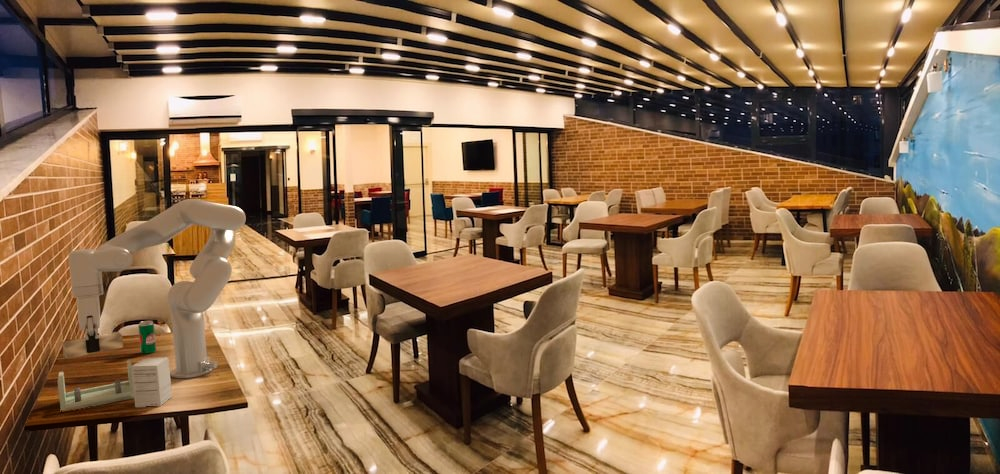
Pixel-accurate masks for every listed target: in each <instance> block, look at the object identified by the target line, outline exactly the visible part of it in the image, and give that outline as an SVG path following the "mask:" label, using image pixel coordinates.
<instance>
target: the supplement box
mask: <svg viewBox="0 0 1000 474" xmlns="http://www.w3.org/2000/svg"><path fill="white" fill-rule="evenodd" d="M131 371H132V381H133V391H134V398H133V399H134V408H147V407H146V406H157V407H162V406H163V405H162V404H166V402H167V401H169V400H170V399H171V398H172V397H173V391H172V382H171V381H172V380H171V368H170V360H169V357H165V356H163V357H147V358H143V359H141V360H140V361H137V362H136V363H134V364H133V365H132V366H131ZM168 399H169V400H168Z"/></svg>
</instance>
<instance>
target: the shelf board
mask: <svg viewBox="0 0 1000 474" xmlns="http://www.w3.org/2000/svg"><path fill="white" fill-rule="evenodd" d="M98 338H99V344H100V351H99V352H93V353H87V350H86V337H82V338H77V339H71V340H65V341H62V342H61V344H62V345H61V346H62V354H63V355H62V356H63V357H65V359H73V358H78V357H83V356H87V355H93V354H96V353H102V352H106V351H112V350H117V349H122V348H124V342H123V335H122V333H120V332H119V331H116V332H115V331H114V332H108V333H104V334H99V335H98Z"/></svg>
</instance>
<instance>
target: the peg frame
mask: <svg viewBox="0 0 1000 474" xmlns="http://www.w3.org/2000/svg"><path fill="white" fill-rule="evenodd" d="M131 366H133V365H132V361H131V359H128V360H126V367H127V376H128V380H125V381H121V380H120V379H117V380H114V383H110V384H109V383H108V384H104V385H99V386H94V387H88V388H85V389H81V387H76V388H74V389H73V391H69V392H66V384H65V374H64V371H59V372H58V378H57V389H58V397H59V405H60V406H59V407H60V410H59V411H61V410H67V409H73V408H80V407H88V406H93V407H96V406H97V405H98V406H102V405H107V404H111V403H116V402H120V401H127V400H130V399H134V391H133V381H132V371H131ZM88 408H89V407H88Z"/></svg>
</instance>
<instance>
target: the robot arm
mask: <svg viewBox="0 0 1000 474" xmlns="http://www.w3.org/2000/svg"><path fill="white" fill-rule="evenodd" d="M246 218H247V217H246V213H245V211H244V210H243V209H241V208H240V207H238V206H235V205H230V204H225V203H217V202H213V201H208V200H202V199H194V198H193V199H183V200H181V201H178V202H177V203H175V204H172V206H170V207H169V208H167V209H165V210H164V211H162V212H161V213H158V214H157V215H155V216H154V217H152V218H151V219H148V220H147V221H144V222H141V223H140V224H138V225H136V226H134V227H132V228H130V229H127V230H125V231H124V232H122V233H119V234H118V235H116V236H114V237H113V238H111V239H110V240H108V241H106V242H104V243H103V244H101V245H99V246H98V247H97V248H96V249H95V248H84V249H83V248H82V249H77V250H76V249H74V250H71V251H70V252H69V254H68V265H69V273H70V274H69V275H70V283H71V286H70V287H71V293H72V298H73V299H76V303H77V304H76V305H77V316H78V317H77V318H78V329H79V331H80V332H83V331H84V330H85V338H86V350H87V353H93V352H98V353H100V352H99V351H100V344H99V338H98V335H100V333H99V329H100V326H101V305H100V296H102V295H104V285H103V274H102V273H103V272H105V273H106V272H122V271H125V270H127V269H129V268H130V267H131V265H132V264H133V261H134V256H133V255H134V254H135V253H137V252H140V251H141V250H144V249H147V248H151V247H155V246H159V245H160V246H161V245H162V244H165V243H167V242H168V241H170V240H171V239H173V238H175V237H177V236H178V235H179V234H181V233H182V232H184V231H186V230H187V229H188V228H190V227H192V226H200V227H206V228H209V232H210V233H209V238H208V240H207V241H206V243H205V245H204V246H203V247H202V249H201V250H200V252H199V253H198V254H197V255H196V256H195V259H194V260H193V261H192V263H191V265H190V267H189V273H190V276H191V277H192V278H194V280H193V281H189V280H181V281H178V282H176V283H174V284H173V285H172V286H171V287H170V288H169V290H168V293H167V303H168V309H169V312H170V318H171V325H172V336H173V337H172V338H173V346H174V347H173V349H174V360H175V368H174V369H173V370H172V371H170V377H172V378H175V379H191V378H196V377H197V378H198V377H200V376H203V375H206V374H209V373H210V372H212V371H213V369H217V367H218V360H211V356H208V354H207V353H208V352H207V342H206V341H207V339H206V329H205V328H206V326H205V318H204V312H206V311H208V309H210V308H211V307H212V306H213V304H214V303H215V302H216V300H217V299H218V297H219V295H220V294H221V292H222V291H223V290H224V288H225V287H226V286H227V284H228V282H229V280H230V279H231V276H232V272H233V271H232V265H231V262H230V261H229V260H228V258H229V257H230V255H231V253H232V252H233V250H234V248H235V245H236V232H235V231H238V230H240V229H241V228H243V227H244V225H245V223H246V220H247V219H246ZM93 354H94V353H93Z"/></svg>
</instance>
